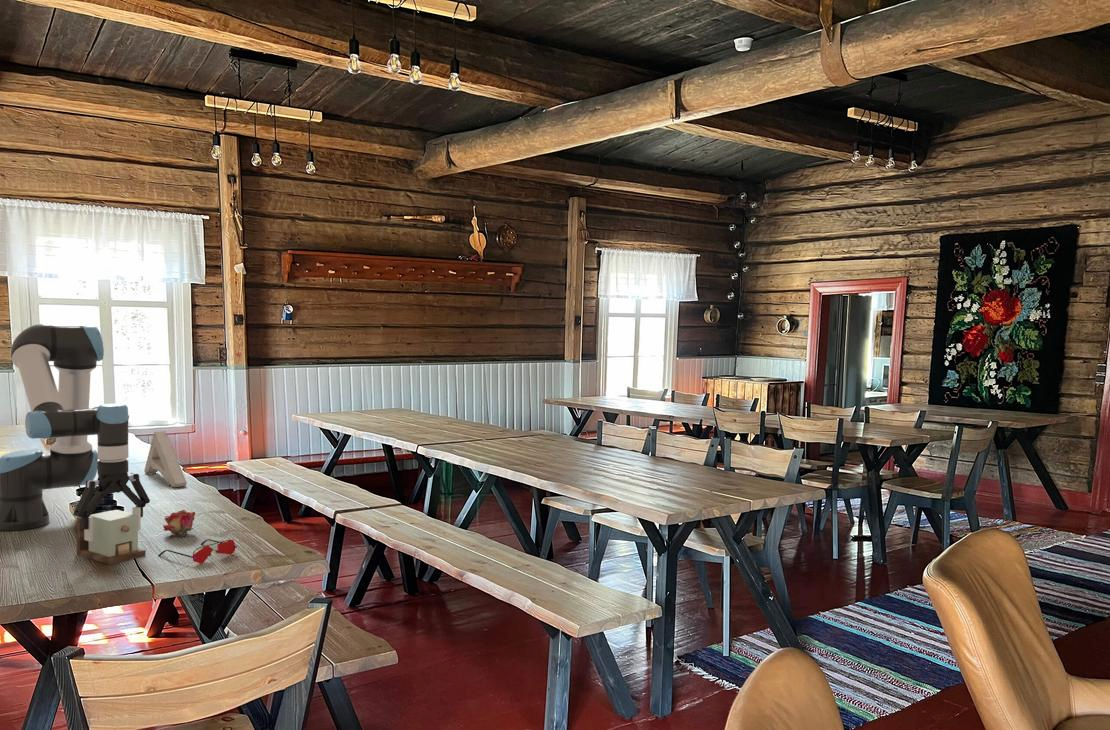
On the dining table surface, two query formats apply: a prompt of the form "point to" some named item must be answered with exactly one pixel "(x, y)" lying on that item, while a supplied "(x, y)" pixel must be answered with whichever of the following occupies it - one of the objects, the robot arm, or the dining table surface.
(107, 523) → the cabinet block
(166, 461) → the wooden letter a
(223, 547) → the glasses
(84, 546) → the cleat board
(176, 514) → the flower
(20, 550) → the dining table surface
